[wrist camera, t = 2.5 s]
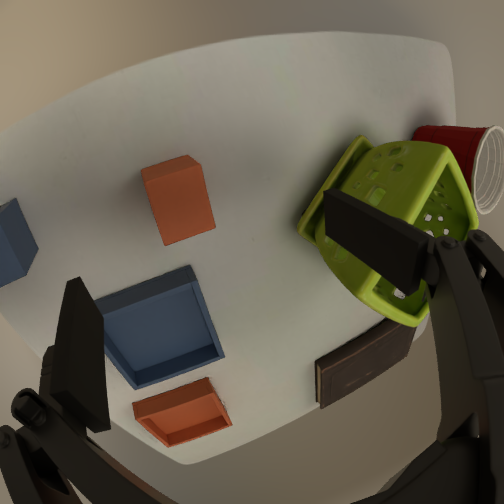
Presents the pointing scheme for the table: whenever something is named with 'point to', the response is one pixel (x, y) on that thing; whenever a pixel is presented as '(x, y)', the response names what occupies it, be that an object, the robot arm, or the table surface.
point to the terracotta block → (178, 198)
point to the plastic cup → (473, 158)
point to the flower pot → (393, 212)
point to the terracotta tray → (183, 413)
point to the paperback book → (361, 361)
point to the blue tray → (159, 329)
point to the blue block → (14, 244)
